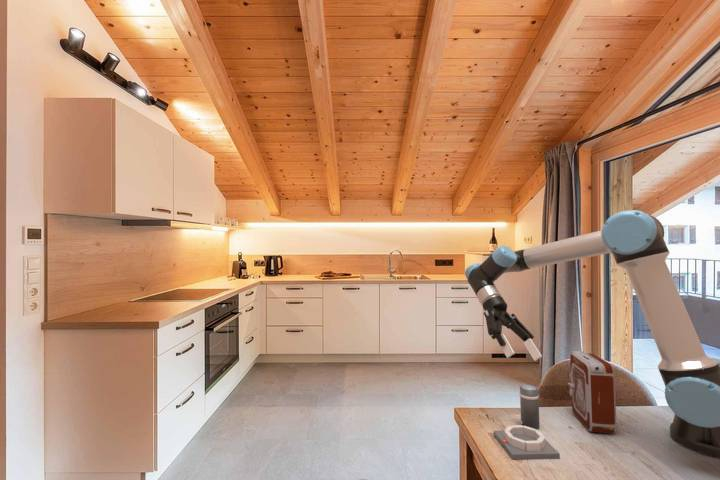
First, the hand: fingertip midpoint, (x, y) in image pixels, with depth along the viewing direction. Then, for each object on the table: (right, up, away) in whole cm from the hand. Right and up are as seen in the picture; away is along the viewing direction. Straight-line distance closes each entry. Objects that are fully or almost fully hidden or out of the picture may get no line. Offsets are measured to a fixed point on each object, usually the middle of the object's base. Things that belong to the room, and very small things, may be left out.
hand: (525, 357), depth 109 cm
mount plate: (-6, -19, -14) cm, 24 cm away
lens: (0, -20, -2) cm, 20 cm away
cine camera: (+20, -20, +1) cm, 28 cm away
